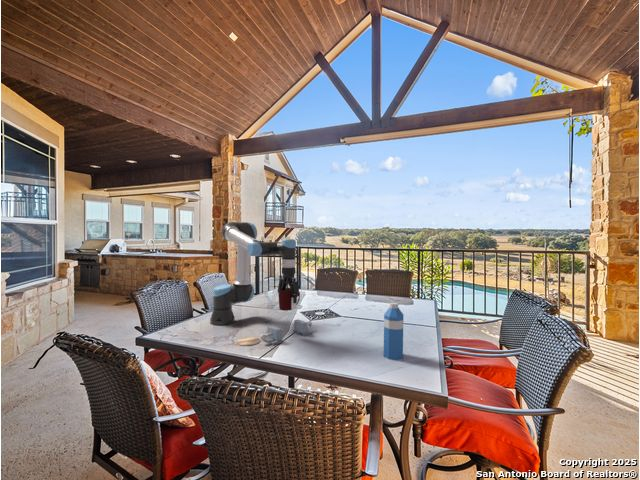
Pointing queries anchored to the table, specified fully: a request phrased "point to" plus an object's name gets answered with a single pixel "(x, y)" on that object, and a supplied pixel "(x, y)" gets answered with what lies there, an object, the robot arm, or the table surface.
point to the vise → (275, 332)
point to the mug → (285, 299)
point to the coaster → (248, 341)
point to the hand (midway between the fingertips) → (288, 307)
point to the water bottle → (393, 332)
